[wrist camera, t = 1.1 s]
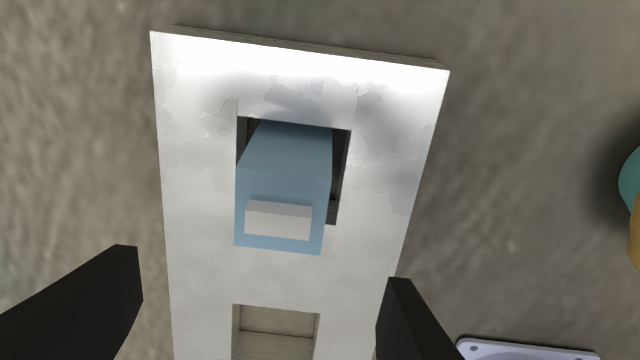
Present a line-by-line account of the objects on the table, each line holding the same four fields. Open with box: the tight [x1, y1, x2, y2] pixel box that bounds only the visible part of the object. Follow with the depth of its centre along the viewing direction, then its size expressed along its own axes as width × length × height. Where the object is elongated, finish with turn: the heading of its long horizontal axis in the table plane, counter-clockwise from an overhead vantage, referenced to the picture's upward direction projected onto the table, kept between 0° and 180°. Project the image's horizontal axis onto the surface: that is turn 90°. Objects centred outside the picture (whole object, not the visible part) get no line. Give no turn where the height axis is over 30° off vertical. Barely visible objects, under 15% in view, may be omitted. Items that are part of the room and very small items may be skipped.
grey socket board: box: [150, 25, 450, 360], centre depth 21 cm, size 12×22×2 cm, turn 173°
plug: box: [234, 119, 333, 256], centre depth 17 cm, size 4×4×7 cm
